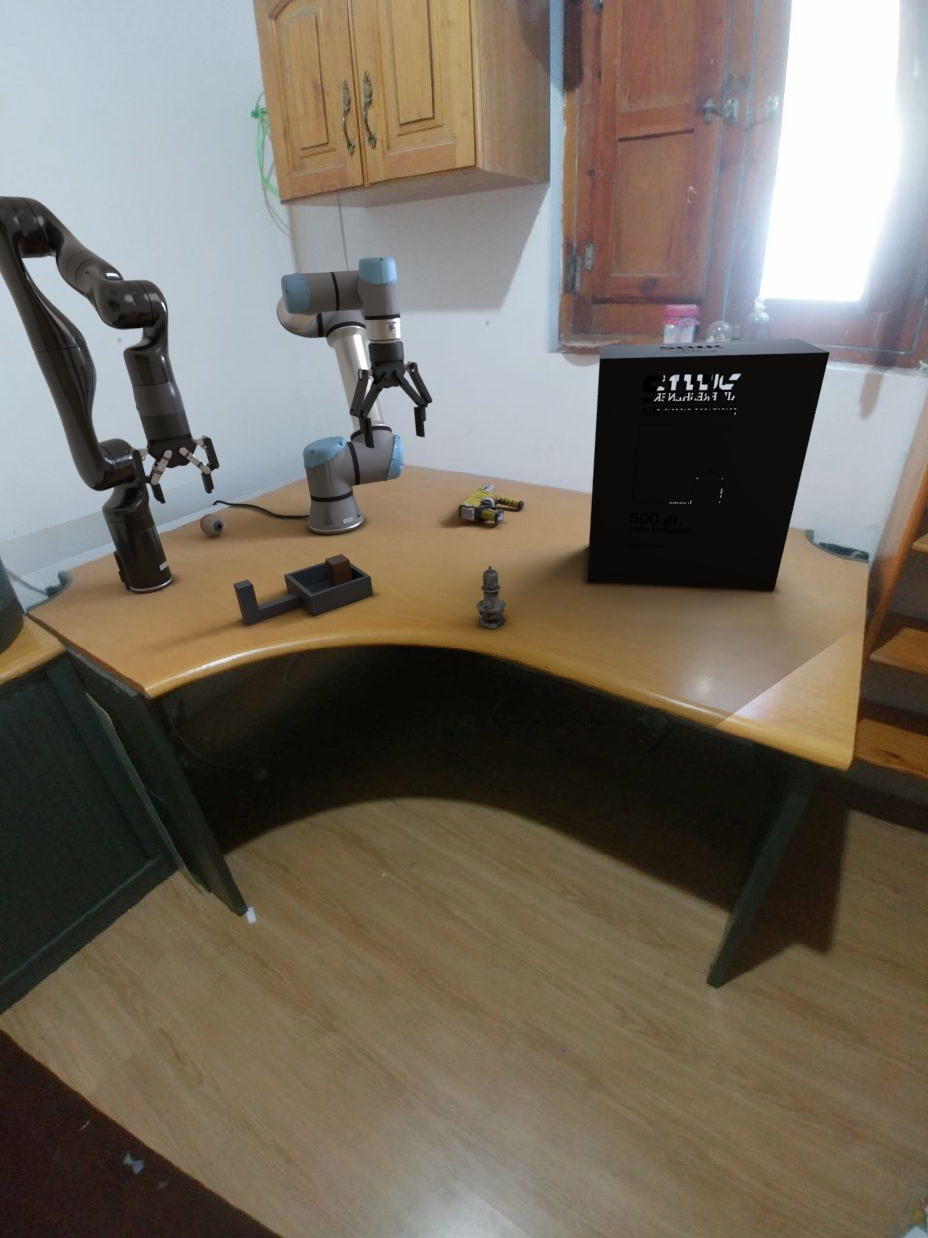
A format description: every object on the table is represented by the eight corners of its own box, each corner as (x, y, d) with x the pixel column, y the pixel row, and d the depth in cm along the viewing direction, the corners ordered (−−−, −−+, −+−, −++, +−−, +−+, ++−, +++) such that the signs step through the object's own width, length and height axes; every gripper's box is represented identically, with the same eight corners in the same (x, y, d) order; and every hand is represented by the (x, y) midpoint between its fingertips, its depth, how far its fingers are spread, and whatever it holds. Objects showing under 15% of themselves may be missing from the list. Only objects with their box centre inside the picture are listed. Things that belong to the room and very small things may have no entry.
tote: (257, 636, 118) (247, 598, 114) (234, 610, 128) (224, 574, 124) (373, 595, 131) (368, 559, 127) (344, 574, 141) (338, 540, 137)
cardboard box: (754, 550, 140) (797, 339, 118) (774, 590, 123) (829, 352, 101) (589, 545, 148) (601, 345, 125) (586, 582, 131) (599, 358, 108)
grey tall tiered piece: (504, 629, 116) (503, 573, 110) (474, 627, 117) (471, 571, 111) (508, 614, 120) (507, 559, 114) (479, 612, 122) (477, 558, 116)
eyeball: (213, 540, 164) (207, 519, 161) (198, 536, 167) (192, 516, 164) (231, 532, 168) (225, 512, 165) (216, 529, 171) (211, 509, 168)
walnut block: (329, 587, 134) (324, 558, 131) (346, 582, 136) (341, 553, 133) (337, 593, 131) (332, 564, 128) (354, 588, 133) (349, 559, 130)
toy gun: (532, 488, 178) (484, 481, 182) (510, 513, 158) (457, 504, 162) (530, 504, 181) (483, 496, 185) (509, 529, 161) (456, 520, 165)
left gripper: (121, 418, 100) (151, 511, 109) (208, 405, 108) (229, 493, 116) (113, 412, 106) (142, 501, 114) (196, 400, 113) (218, 484, 121)
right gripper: (340, 348, 120) (355, 455, 131) (443, 335, 132) (449, 434, 143) (324, 346, 125) (339, 449, 136) (424, 334, 138) (431, 429, 148)
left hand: (186, 497), depth 115 cm, fingers open, 8 cm apart
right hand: (395, 441), depth 139 cm, fingers open, 13 cm apart
